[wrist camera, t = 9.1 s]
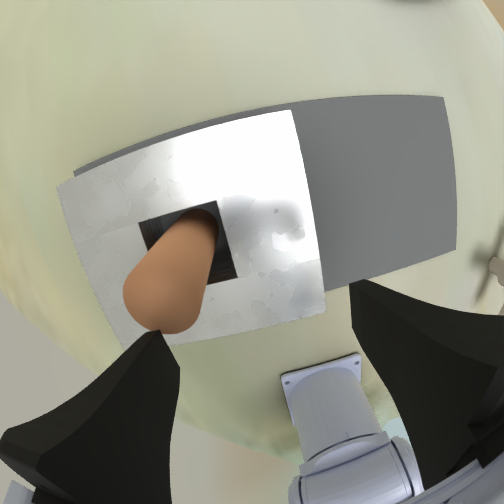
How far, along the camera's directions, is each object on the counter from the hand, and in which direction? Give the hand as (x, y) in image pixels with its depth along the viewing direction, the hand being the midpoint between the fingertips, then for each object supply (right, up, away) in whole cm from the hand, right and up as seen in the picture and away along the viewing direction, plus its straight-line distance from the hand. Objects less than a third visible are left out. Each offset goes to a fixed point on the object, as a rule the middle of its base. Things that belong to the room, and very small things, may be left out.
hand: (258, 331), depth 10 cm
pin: (-4, +4, +9) cm, 10 cm away
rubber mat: (+3, +6, +9) cm, 11 cm away
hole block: (-4, +4, +9) cm, 11 cm away
